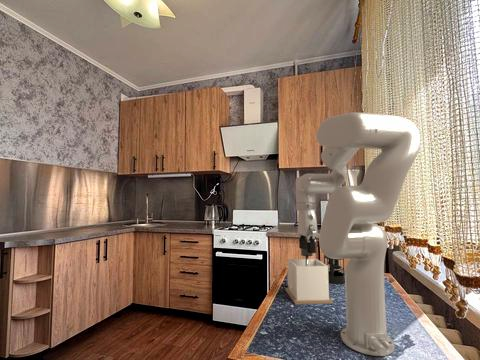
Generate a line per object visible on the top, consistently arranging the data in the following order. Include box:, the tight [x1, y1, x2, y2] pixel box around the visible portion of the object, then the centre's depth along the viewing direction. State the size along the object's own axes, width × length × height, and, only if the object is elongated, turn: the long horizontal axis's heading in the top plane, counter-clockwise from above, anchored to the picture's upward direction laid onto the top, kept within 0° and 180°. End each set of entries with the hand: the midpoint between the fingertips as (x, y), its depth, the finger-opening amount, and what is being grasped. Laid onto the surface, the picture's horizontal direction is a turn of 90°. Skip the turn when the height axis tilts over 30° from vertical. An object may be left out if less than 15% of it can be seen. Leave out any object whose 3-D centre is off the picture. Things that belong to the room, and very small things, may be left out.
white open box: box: [285, 258, 334, 305], centre depth 99 cm, size 14×14×13 cm
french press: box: [323, 254, 345, 285], centre depth 118 cm, size 12×9×23 cm
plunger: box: [300, 248, 314, 266], centre depth 99 cm, size 10×10×15 cm
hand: (307, 250), depth 99 cm, fingers open, 9 cm apart
